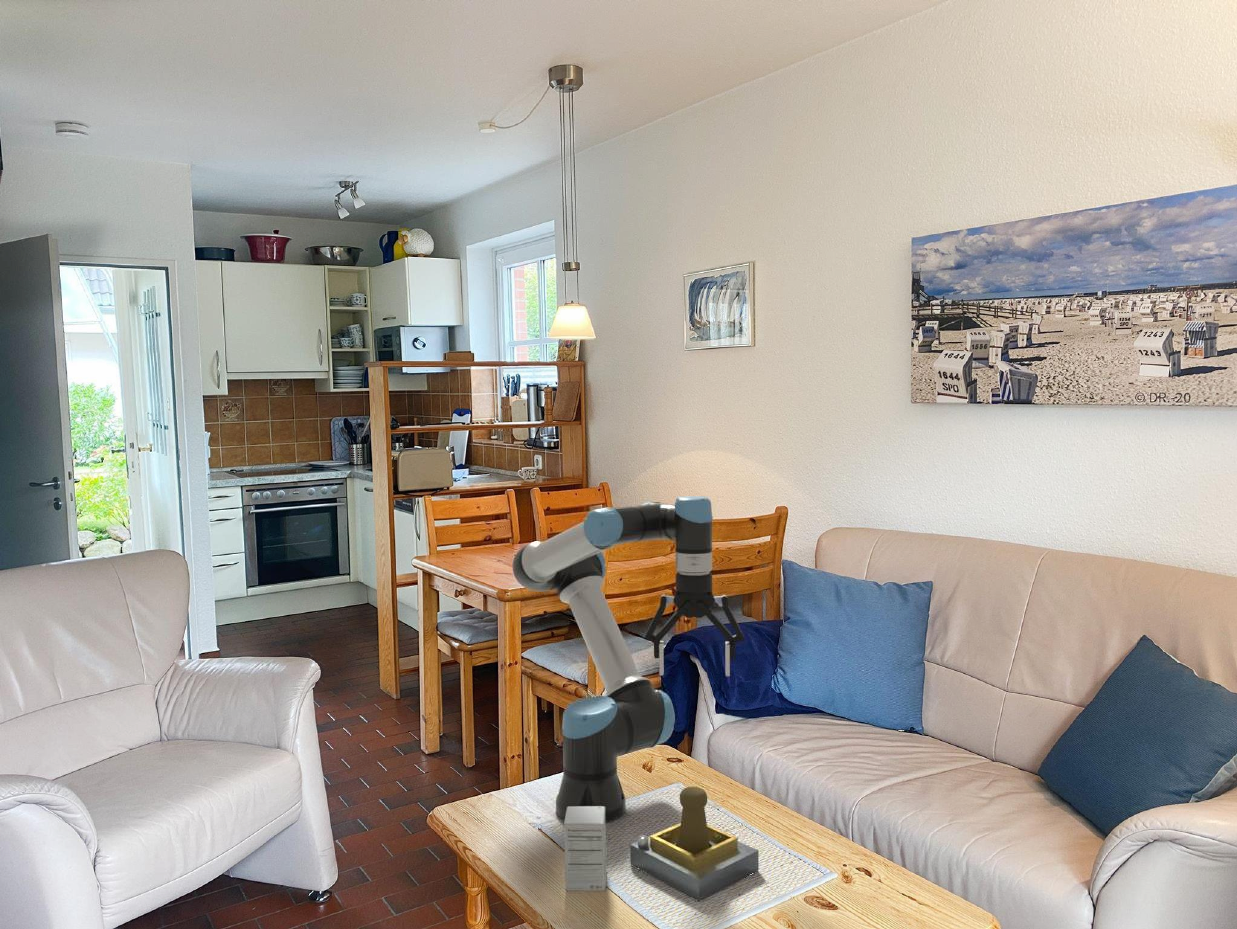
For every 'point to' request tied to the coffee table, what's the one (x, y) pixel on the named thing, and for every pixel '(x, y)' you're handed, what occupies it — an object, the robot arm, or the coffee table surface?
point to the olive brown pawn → (693, 821)
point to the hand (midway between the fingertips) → (694, 674)
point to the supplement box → (585, 848)
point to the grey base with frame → (694, 861)
